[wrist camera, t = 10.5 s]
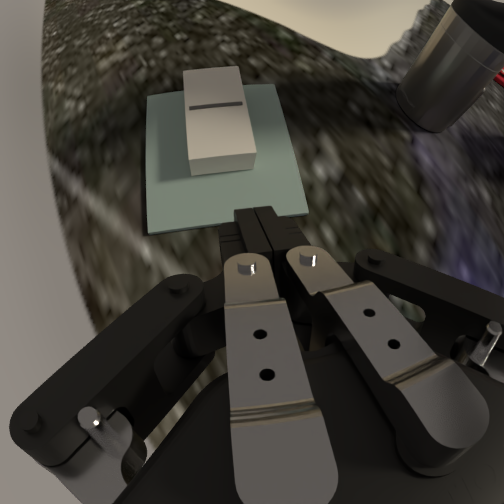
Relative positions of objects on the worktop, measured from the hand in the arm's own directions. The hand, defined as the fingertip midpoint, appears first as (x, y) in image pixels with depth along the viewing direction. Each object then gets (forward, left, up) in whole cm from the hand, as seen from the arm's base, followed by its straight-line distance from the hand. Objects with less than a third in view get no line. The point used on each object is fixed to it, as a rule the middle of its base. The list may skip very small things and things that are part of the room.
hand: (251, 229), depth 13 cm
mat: (0, -14, -15) cm, 21 cm away
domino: (0, -11, -13) cm, 17 cm away
